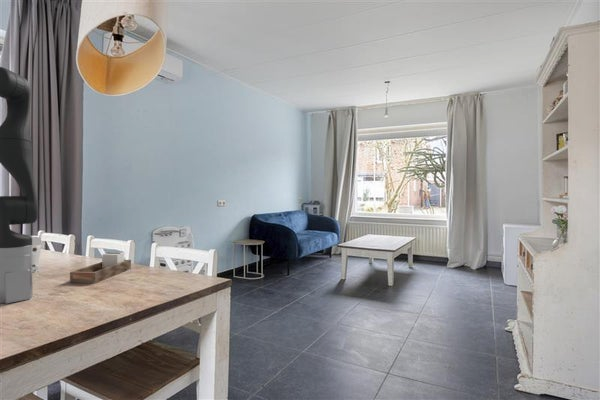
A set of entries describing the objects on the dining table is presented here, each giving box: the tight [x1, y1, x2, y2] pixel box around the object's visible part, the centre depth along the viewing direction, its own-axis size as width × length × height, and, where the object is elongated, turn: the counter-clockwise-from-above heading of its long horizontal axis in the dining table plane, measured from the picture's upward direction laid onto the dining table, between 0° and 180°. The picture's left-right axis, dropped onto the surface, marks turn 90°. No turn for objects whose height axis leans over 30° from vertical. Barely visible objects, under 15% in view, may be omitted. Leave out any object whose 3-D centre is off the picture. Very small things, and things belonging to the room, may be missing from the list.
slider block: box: [101, 251, 125, 268], centre depth 146 cm, size 5×7×6 cm
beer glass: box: [30, 235, 42, 273], centre depth 143 cm, size 7×7×15 cm
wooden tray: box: [69, 259, 132, 284], centre depth 139 cm, size 24×10×4 cm, turn 177°
